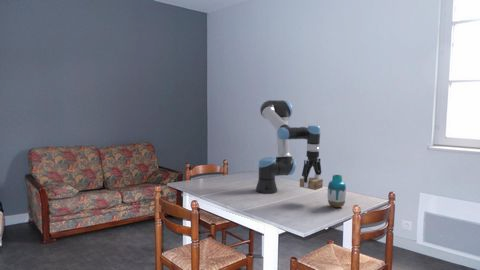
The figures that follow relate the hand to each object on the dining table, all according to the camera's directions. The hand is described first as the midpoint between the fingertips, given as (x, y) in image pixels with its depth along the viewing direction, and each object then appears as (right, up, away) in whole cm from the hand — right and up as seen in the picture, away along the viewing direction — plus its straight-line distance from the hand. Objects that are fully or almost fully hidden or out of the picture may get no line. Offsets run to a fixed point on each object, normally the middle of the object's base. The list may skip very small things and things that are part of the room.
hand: (311, 186), depth 224 cm
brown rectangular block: (0, -1, 0) cm, 1 cm away
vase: (+14, -12, -6) cm, 19 cm away
